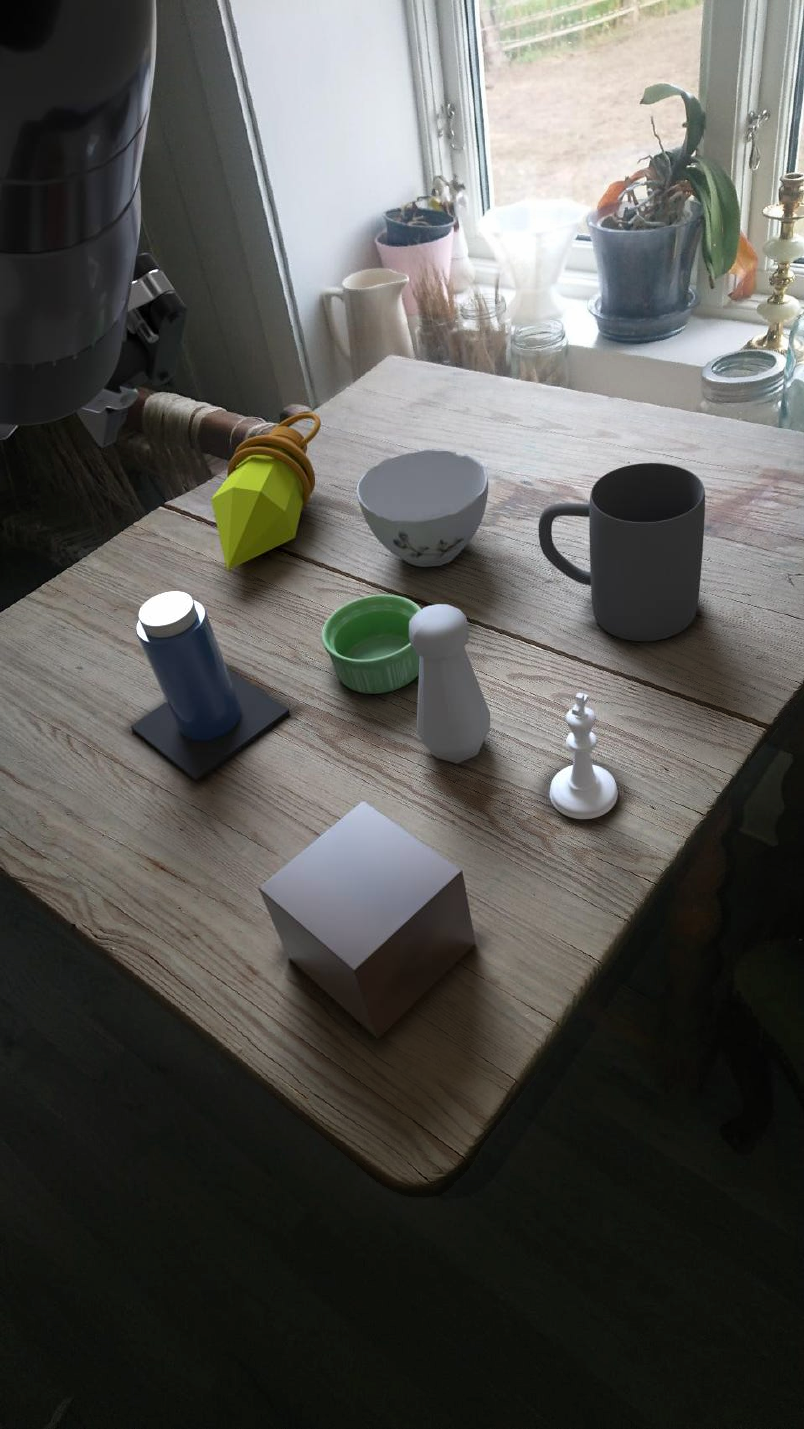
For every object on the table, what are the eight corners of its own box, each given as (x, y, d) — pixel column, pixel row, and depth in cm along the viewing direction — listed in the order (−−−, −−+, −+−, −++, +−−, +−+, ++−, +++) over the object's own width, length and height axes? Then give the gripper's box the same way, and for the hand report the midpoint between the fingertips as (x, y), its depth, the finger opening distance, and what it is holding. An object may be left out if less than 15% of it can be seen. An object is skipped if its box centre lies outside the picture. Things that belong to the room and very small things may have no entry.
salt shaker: (422, 721, 80) (397, 595, 71) (492, 715, 79) (476, 587, 70) (420, 774, 76) (394, 647, 67) (494, 768, 75) (477, 639, 66)
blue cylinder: (202, 751, 81) (155, 640, 73) (165, 722, 84) (116, 613, 76) (254, 713, 83) (215, 602, 75) (216, 686, 87) (174, 577, 78)
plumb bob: (288, 596, 96) (352, 439, 111) (242, 528, 90) (316, 371, 105) (214, 608, 100) (286, 455, 115) (165, 543, 94) (247, 390, 109)
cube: (378, 1039, 60) (354, 971, 55) (287, 957, 66) (257, 887, 60) (476, 943, 64) (462, 870, 59) (383, 872, 70) (363, 799, 64)
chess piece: (628, 781, 72) (629, 682, 65) (600, 828, 69) (598, 730, 63) (567, 761, 74) (562, 663, 68) (538, 806, 72) (529, 708, 65)
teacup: (483, 590, 91) (475, 518, 86) (356, 588, 95) (340, 518, 89) (507, 501, 101) (501, 431, 96) (392, 502, 105) (379, 435, 99)
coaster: (197, 782, 79) (195, 779, 79) (131, 729, 85) (130, 726, 85) (290, 712, 83) (289, 709, 83) (222, 667, 89) (220, 663, 89)
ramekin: (440, 633, 88) (434, 594, 85) (420, 702, 82) (412, 663, 79) (346, 630, 90) (336, 593, 87) (319, 698, 84) (308, 659, 81)
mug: (705, 583, 87) (714, 464, 79) (690, 649, 81) (697, 528, 73) (555, 570, 92) (548, 456, 84) (530, 632, 86) (521, 516, 78)
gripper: (136, 66, 31) (101, 337, 46) (-326, 211, 26) (-196, 466, 41) (268, 264, 32) (192, 470, 47) (-159, 450, 26) (-91, 616, 41)
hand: (11, 468), depth 44 cm, fingers open, 8 cm apart
